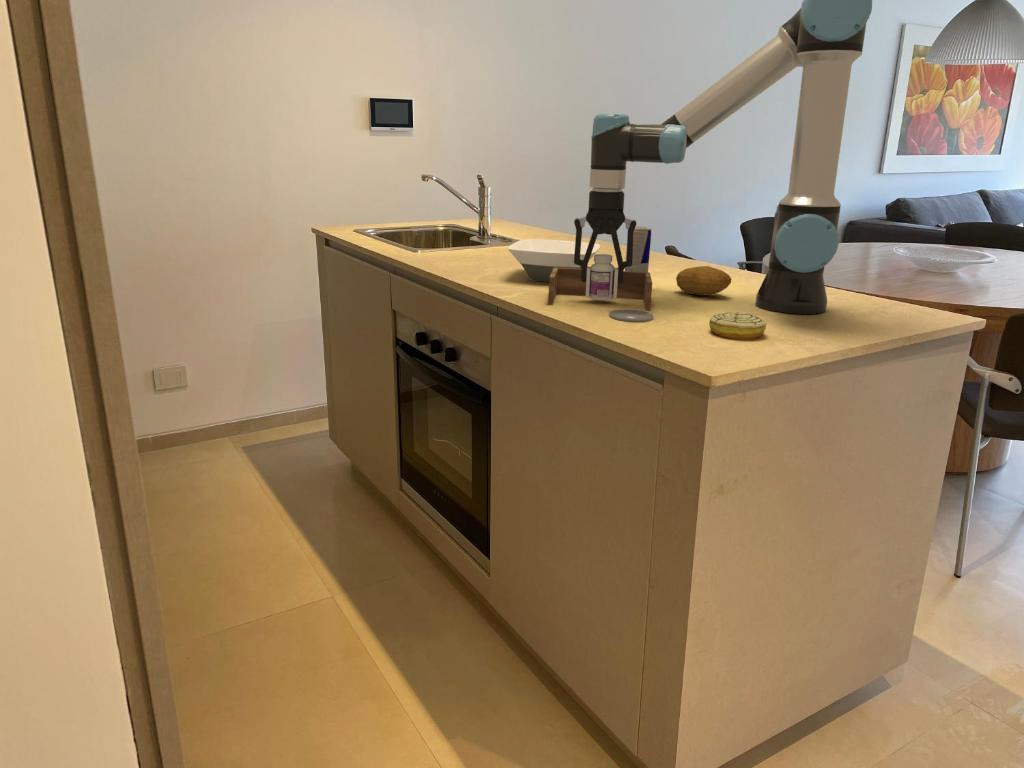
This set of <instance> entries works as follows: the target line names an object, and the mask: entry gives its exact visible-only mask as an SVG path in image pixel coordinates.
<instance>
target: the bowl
mask: <svg viewBox="0 0 1024 768" xmlns="http://www.w3.org/2000/svg"><path fill="white" fill-rule="evenodd" d="M588 244H589V242H584V241H581V251H580V259H581V260H584V257H585V254H586V251H587V248H588ZM601 247H602V246H601V245H600V243H596V242H595V244H594V247H593V250H592V253H591V256H590V259H589V261H590V260H591V259H592V258H594V255H596V253H597V252H598V251H599V250H600V249H601ZM507 249H508V251H509V252H510V254H511V255H512V256H513V257H514V258H515V260H516V261H518V263H519V264H520V265H521V266H522V269H524V271H525V272H526V274H527V276H528V277H529V279H530V280H531V281H533V280H534V282H541V281H543V282H544V283H549V277H550V275H551V273H552V271H553V269H554V267H555V268H574V269H582V268H581V266H579V265H576V264H574V253H575V241H573V240H571V241H570V240H562V239H561V240H557V239H556V240H555V239H539V238H535V239H533V238H524V239H521V240H517V241H515V242H514V243H512V244H510V245H508V248H507Z"/></svg>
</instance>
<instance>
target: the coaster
mask: <svg viewBox="0 0 1024 768" xmlns="http://www.w3.org/2000/svg"><path fill="white" fill-rule="evenodd" d="M609 317H610V319H613V320H616V321H619V322H620V321H621V322H627V323H628V322H629V323H645V322H651V321H653V320H654V314H653V313H651V312H649V311H644V310H641V309H640V310H638V309H625V308H624V309H614V310H611V311H609Z"/></svg>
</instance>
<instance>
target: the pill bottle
mask: <svg viewBox="0 0 1024 768" xmlns="http://www.w3.org/2000/svg"><path fill="white" fill-rule="evenodd" d="M593 262H594V263H593V264H591V266H590V267H591V269H590V289H589V299H592V300H594V301H610V300H612V299H613V292H614V275H615V268H616V267H615V266H614V265H613V264H612V263H613V255H612V254H608V253H598V254H596V253H595V254H594V256H593Z"/></svg>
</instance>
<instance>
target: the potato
mask: <svg viewBox="0 0 1024 768" xmlns="http://www.w3.org/2000/svg"><path fill="white" fill-rule="evenodd" d="M675 280H676V286H677V287H678V288H679V289H680V290H681V291H683V292H684V293H687V294H691V295H695V296H708V295H714V294H715V295H716V294H718V293H720V292H723V291H724V290H726V289H727V288H728V287H729V286H730V284H732V277H731V275H729V274H728V273H727V272H726V271H724V270H722V269H719V268H715V267H712V266H711V265H702V266H701V265H700V266H694V267H688V268H685V269H683V270H680V271H679V272H678V274H677V275H676V277H675Z"/></svg>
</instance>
